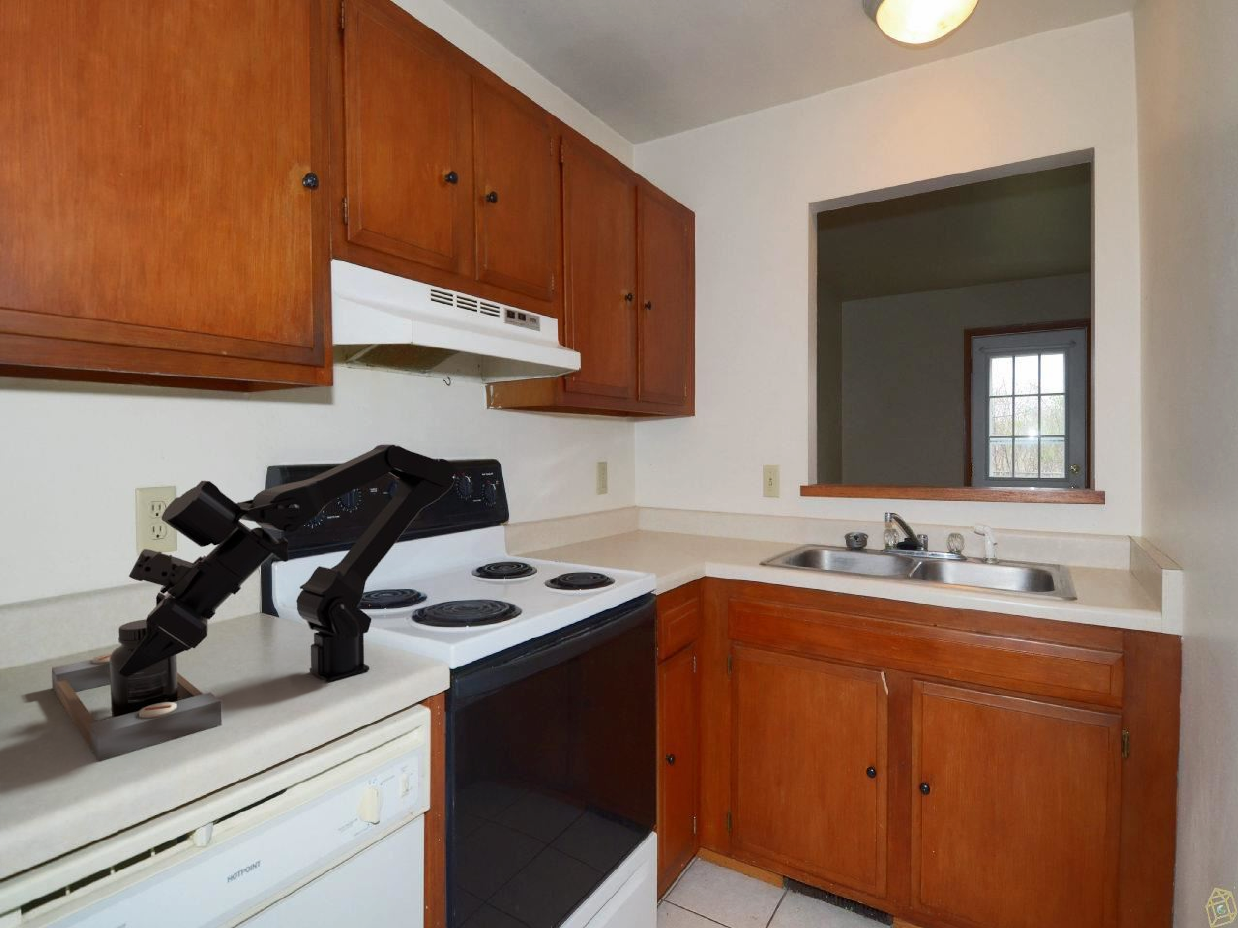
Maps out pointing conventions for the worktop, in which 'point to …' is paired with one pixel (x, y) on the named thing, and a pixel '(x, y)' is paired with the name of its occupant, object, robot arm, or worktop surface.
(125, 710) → the supplement bottle
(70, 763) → the worktop surface
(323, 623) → the robot arm
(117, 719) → the wooden frame
